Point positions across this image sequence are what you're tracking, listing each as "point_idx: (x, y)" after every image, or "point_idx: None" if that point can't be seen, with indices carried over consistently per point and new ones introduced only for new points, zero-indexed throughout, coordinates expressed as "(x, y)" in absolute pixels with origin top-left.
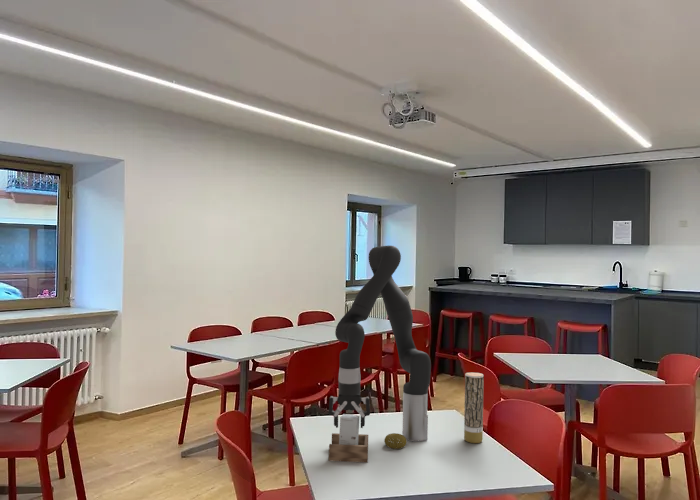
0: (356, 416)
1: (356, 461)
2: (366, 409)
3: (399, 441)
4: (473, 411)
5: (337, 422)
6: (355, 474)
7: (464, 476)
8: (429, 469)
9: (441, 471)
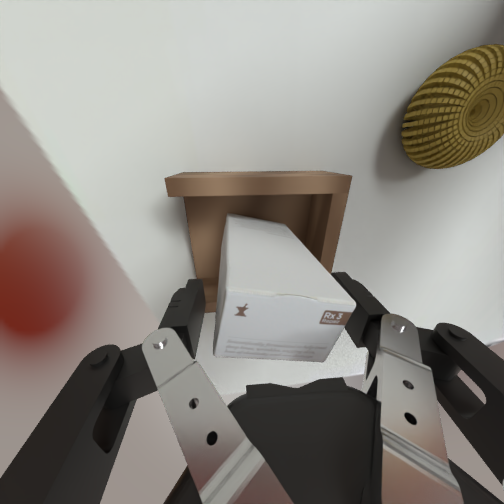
0: (332, 326)
1: None
2: (451, 416)
3: (465, 161)
4: None
5: (199, 327)
6: None
7: (491, 309)
8: (441, 290)
9: (461, 295)
